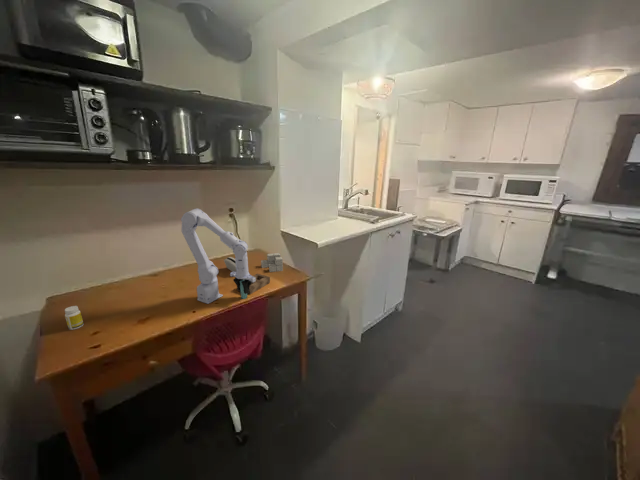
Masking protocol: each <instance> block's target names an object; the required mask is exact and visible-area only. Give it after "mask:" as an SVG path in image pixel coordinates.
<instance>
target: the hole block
mask: <svg viewBox="0 0 640 480" xmlns="http://www.w3.org/2000/svg"><path fill="white" fill-rule="evenodd" d="M252 276H253V277H255V278H256V281H255V282H251V284H250V287H249V292H248V293H247V295H251V294H253V293H255V292H257V291H258V290H260V289H262V288H264V287H265V286H267V285H268V284H270V283H271V276H268V275H264V274H261V273H255V274H254V275H252ZM236 290H237V291H238V292H239V290H238V287H237V286H236Z"/></svg>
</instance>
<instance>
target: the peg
mask: <svg viewBox="0 0 640 480" xmlns="http://www.w3.org/2000/svg"><path fill="white" fill-rule="evenodd" d="M242 281H244V280H240V290H241V292H240V298H241V300H244V299H245V300H246V299H248V293H247V294H245V293H244V288H243V285H242V283H241V282H242Z"/></svg>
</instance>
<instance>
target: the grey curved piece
mask: <svg viewBox="0 0 640 480" xmlns="http://www.w3.org/2000/svg"><path fill="white" fill-rule="evenodd" d="M223 262H224V264H225V267H226V269H228V270H230V272H236V263H235V258H234V257H232V256H229V257H226V258H225V259H223Z"/></svg>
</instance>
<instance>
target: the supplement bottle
mask: <svg viewBox="0 0 640 480" xmlns="http://www.w3.org/2000/svg"><path fill="white" fill-rule="evenodd" d="M64 313H65V314H64V318H65V320H66V321H65V322H66V324H67V327H68V330H71V331H72V330H73V331H74V330H77V329H81V328H82V327H83V326H84V321H83V317H82V312H81V310H79V307H78V305H72V306H69V307H66V308H65V309H64Z"/></svg>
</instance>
